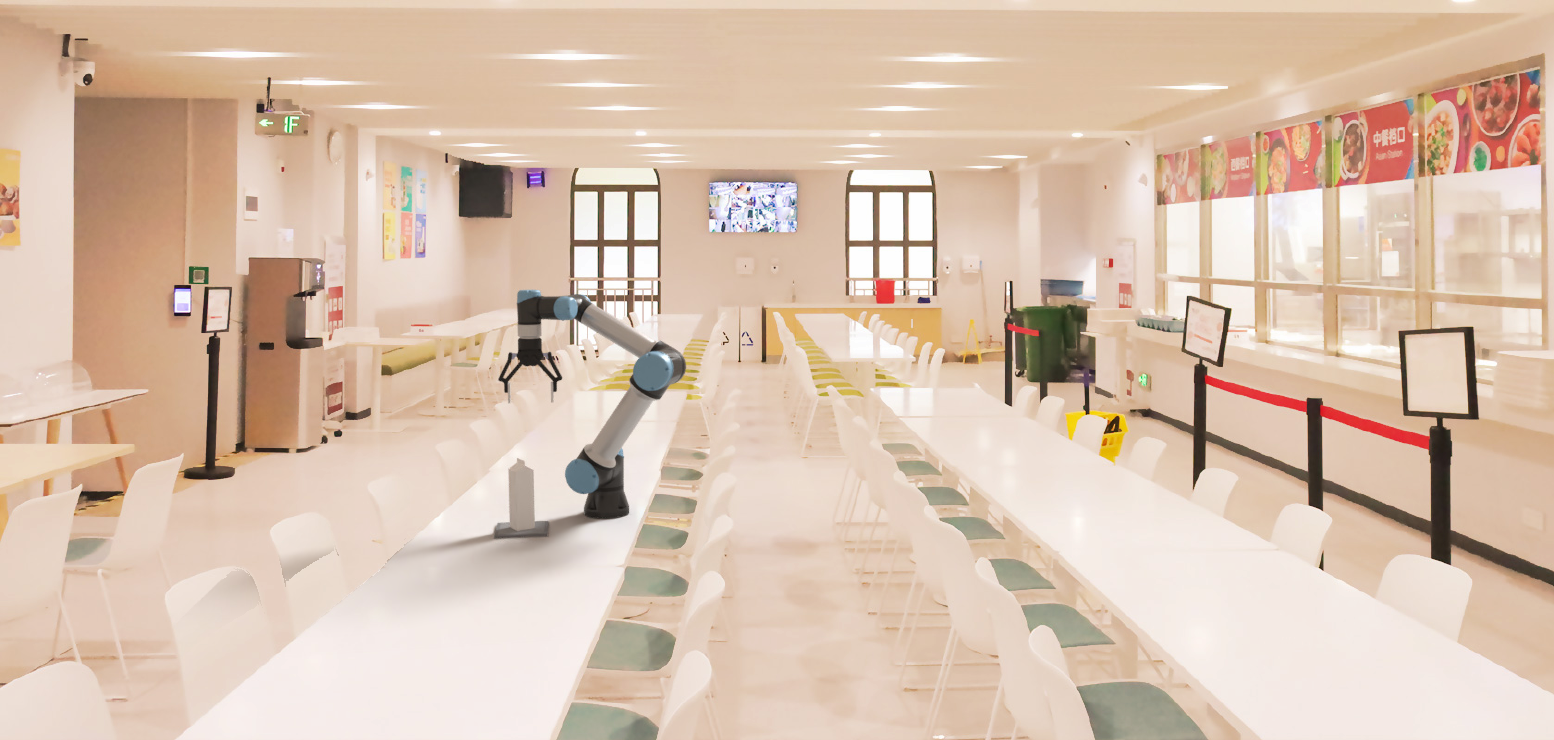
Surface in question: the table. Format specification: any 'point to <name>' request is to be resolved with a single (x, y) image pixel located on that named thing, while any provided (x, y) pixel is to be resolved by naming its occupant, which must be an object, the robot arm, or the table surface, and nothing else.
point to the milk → (521, 496)
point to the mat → (507, 532)
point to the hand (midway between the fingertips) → (531, 402)
